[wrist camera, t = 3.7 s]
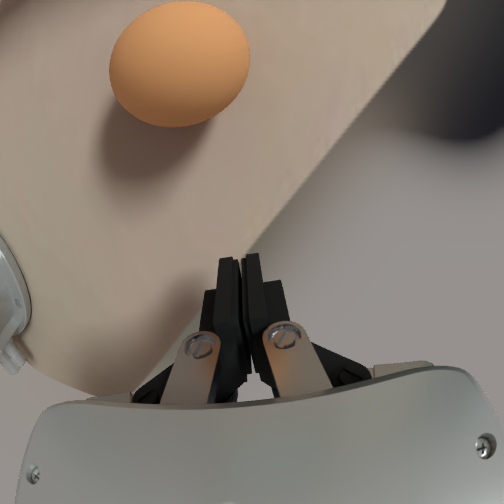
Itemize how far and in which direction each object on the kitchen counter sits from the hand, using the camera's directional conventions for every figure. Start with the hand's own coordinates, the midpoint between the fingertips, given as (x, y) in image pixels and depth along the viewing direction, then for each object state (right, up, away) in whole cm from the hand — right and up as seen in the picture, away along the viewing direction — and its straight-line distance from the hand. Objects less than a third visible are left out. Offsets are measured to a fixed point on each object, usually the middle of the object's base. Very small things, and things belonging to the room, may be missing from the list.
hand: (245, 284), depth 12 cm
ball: (-2, +9, -4) cm, 10 cm away
